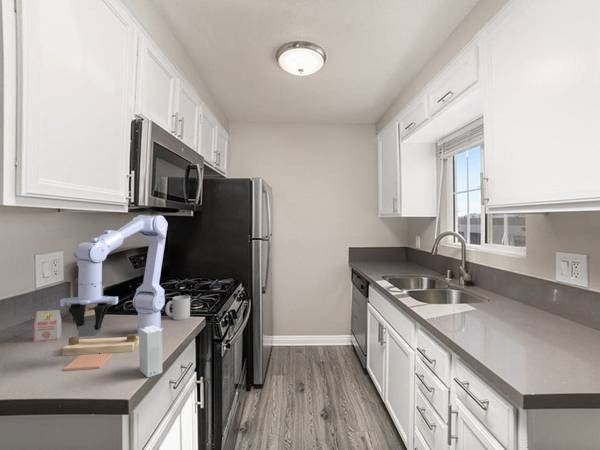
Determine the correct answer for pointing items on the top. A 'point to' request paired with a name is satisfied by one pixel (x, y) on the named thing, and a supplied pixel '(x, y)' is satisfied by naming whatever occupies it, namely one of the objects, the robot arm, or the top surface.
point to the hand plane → (100, 345)
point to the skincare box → (150, 350)
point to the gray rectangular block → (87, 329)
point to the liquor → (89, 309)
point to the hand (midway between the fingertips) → (89, 329)
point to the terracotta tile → (88, 361)
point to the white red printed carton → (47, 325)
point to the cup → (179, 308)
